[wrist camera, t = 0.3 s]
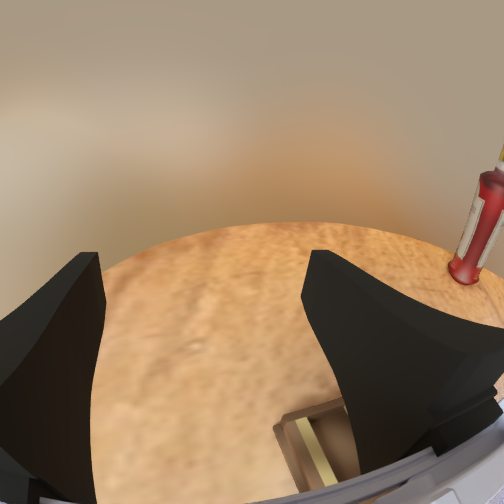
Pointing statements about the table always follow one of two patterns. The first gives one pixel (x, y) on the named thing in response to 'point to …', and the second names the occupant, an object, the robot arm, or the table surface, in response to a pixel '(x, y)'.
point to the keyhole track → (320, 446)
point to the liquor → (480, 226)
